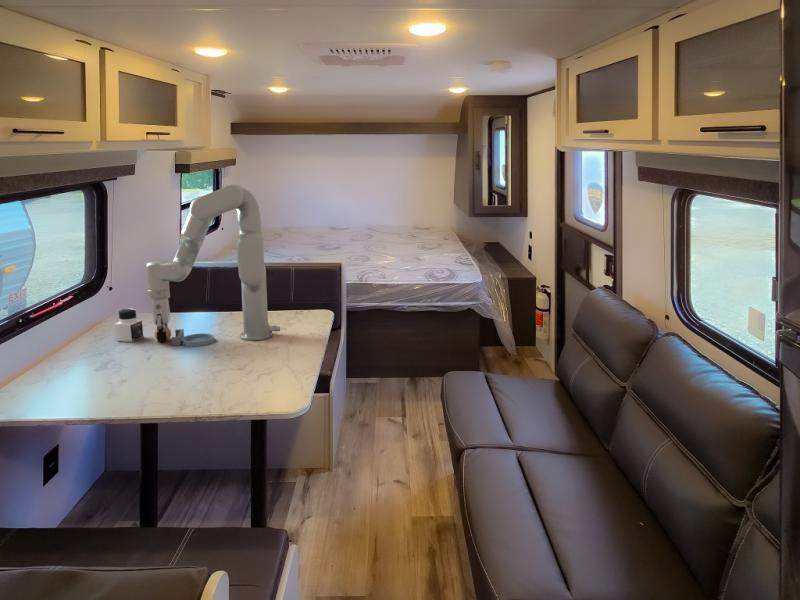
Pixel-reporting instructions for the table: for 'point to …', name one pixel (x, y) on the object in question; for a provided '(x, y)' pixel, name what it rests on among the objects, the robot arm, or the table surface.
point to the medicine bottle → (128, 326)
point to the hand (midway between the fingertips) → (163, 338)
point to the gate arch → (178, 337)
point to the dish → (197, 339)
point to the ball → (168, 333)
